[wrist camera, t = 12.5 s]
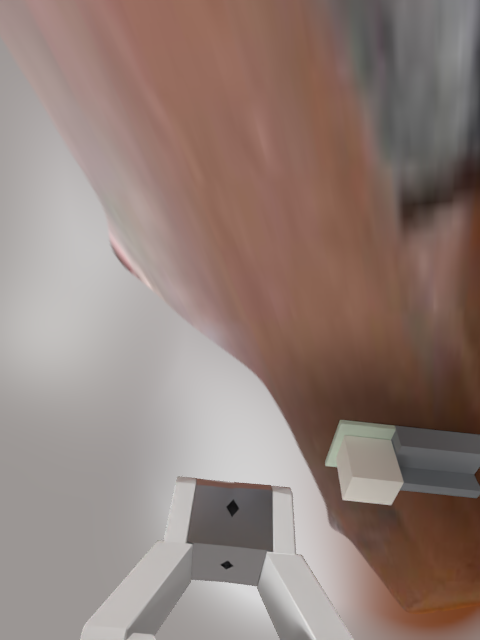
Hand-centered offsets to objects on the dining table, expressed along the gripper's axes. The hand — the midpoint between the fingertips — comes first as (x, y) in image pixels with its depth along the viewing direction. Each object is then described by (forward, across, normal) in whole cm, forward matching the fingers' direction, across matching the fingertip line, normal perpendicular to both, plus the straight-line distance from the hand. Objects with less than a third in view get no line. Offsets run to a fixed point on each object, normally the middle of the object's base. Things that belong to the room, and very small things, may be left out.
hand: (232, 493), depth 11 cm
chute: (+29, -24, +33) cm, 50 cm away
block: (+28, -18, +33) cm, 47 cm away
